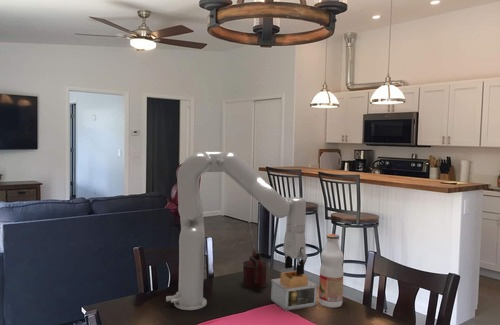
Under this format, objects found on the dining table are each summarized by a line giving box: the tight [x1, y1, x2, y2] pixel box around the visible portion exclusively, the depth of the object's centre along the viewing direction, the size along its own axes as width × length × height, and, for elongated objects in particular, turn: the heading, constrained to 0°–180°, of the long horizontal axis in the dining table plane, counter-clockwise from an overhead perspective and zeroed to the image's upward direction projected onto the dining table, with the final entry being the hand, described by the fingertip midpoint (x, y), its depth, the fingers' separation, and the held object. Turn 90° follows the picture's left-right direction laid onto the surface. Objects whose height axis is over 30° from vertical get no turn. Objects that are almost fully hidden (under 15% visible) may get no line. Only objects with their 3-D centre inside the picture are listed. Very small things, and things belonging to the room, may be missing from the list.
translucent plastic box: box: [270, 270, 318, 312], centre depth 161 cm, size 14×12×12 cm
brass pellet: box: [288, 291, 298, 303], centre depth 162 cm, size 4×4×5 cm
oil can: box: [242, 223, 268, 290], centre depth 184 cm, size 28×11×25 cm, turn 11°
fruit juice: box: [318, 233, 345, 309], centre depth 162 cm, size 9×9×28 cm
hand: (294, 270), depth 161 cm, fingers open, 8 cm apart
